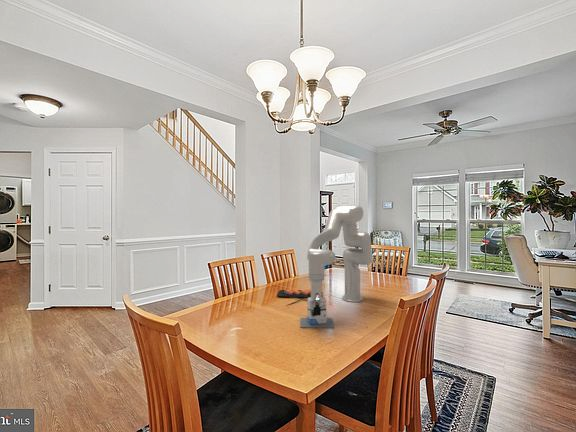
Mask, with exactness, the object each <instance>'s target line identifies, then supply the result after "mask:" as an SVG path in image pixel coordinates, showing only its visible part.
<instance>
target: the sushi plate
mask: <svg viewBox="0 0 576 432" xmlns="http://www.w3.org/2000/svg"><path fill="white" fill-rule="evenodd" d="M276 296H277V297H281V298H282V297H284V298H294V299H299V300H296V301H293V302H291V303H289V304H287V305H286V304H285V307H288V306H292V305H294V304H295V303H298V302H300V301H301V300H302V301H306V302H308V298H309V297H311V289H295V288H294V289H280V290H278V292H277V295H276ZM306 298H307V299H306Z"/></svg>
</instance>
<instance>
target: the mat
mask: <svg viewBox="0 0 576 432" xmlns="http://www.w3.org/2000/svg"><path fill="white" fill-rule="evenodd" d="M299 328H301V329H335V325H334V321H333V318H332V317H326V323H322V324H309V322H308V317H300V327H299Z"/></svg>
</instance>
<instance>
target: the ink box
mask: <svg viewBox="0 0 576 432" xmlns="http://www.w3.org/2000/svg"><path fill="white" fill-rule="evenodd" d="M307 300H308V301H307V318H308V322H309V324H322V323H326V318H327V299H326V298H325V297H324V296H322V297H321V302H320V307H321V315H314V301H313V302H312V301H311V297H307ZM315 303H316V302H315Z"/></svg>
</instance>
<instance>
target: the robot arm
mask: <svg viewBox="0 0 576 432" xmlns="http://www.w3.org/2000/svg"><path fill="white" fill-rule="evenodd" d="M363 218H364V209H363V207H361V206H360V205H338V206H335V207H334V208H333V209H331V211H330V212H329V214H328V217H327V218H326V219H327V220H326V223H325V226H324V229H323V231H321V232H320V233H319V234H318V235H317V236H316V237H314V238H313V239H312V241H311V242H310V245H309V248H308V251H307V256H306V257H307V260H308V281H310V290H311V301H312V302H313V301H314V315H321V307H320V302H321V297H323V287H322V286H323V282H324V281H325V266H330V265H332V264H334V262H335V261H336V253H335V252H334V251H332V250H331V249H322V248H321V246H323V245H324V244H326V243H329V242H332V241H333V240H336V239H338V238H339V237H340V235H341V234H340V233H341V230H342V235H343V243H344V245H345V246H346V247H348V248H345V249H344V250H343V252H342V260H343V265H344V295H342V296H341V300H343V301H345V302H347V303H348V302H349V303H359V302H362V301H364V298H363V296H361V269H360V267H359V266H368V265H370V264H371V263H372V262H373V251H372V239H371V235H370V234H369V233H368V232H367V231H359V230H358V226H357V225H358V224H357V223H358V222H360V221H361V220H363ZM358 265H359V266H358ZM315 302H316V303H315Z"/></svg>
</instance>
